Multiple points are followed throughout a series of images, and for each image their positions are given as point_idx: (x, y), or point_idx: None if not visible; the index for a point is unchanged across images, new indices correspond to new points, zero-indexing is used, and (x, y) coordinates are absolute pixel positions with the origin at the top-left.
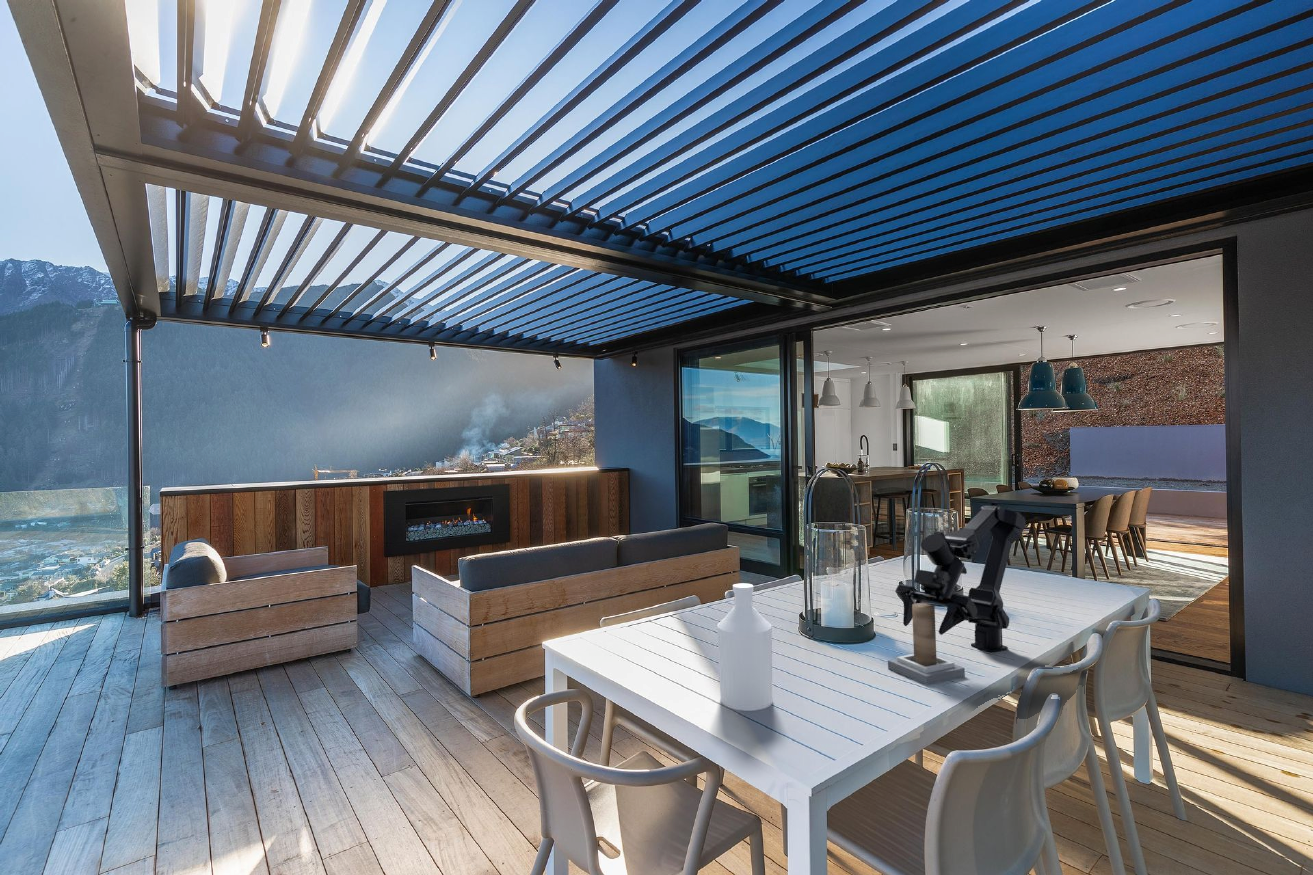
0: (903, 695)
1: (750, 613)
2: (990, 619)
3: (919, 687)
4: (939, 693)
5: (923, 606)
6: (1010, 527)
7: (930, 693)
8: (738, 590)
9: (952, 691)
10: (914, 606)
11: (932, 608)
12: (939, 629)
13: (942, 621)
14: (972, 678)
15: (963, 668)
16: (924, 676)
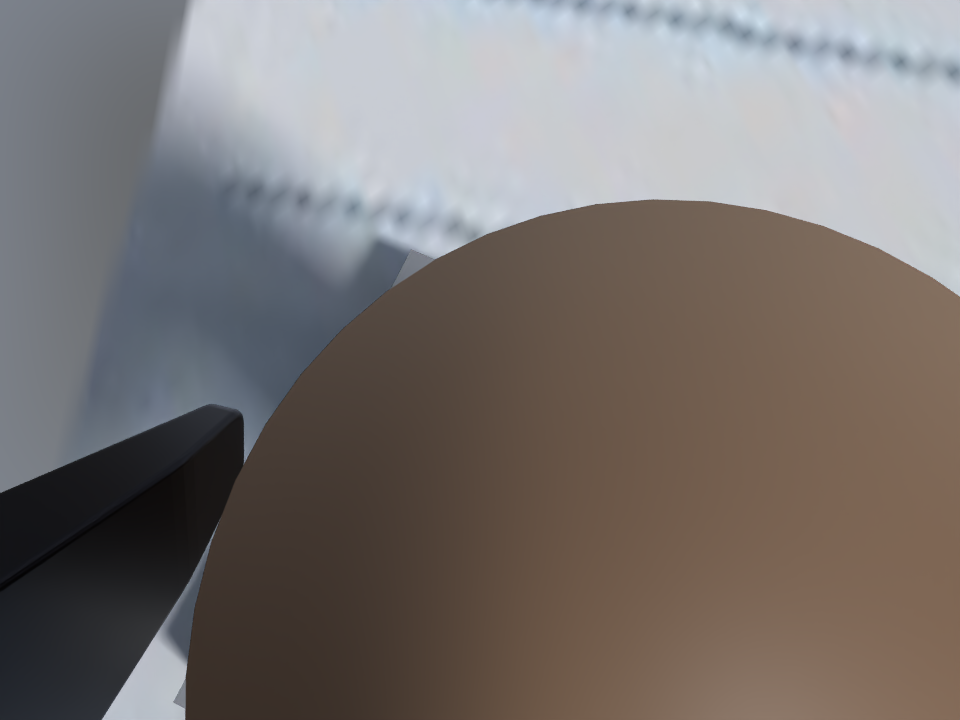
0: (483, 8)
1: None
2: None
3: (445, 202)
4: (293, 179)
5: (631, 528)
6: None
7: (345, 142)
8: None
9: (223, 271)
10: (920, 296)
11: (234, 510)
12: (210, 424)
13: (89, 516)
14: (139, 677)
15: (183, 688)
16: (430, 260)
